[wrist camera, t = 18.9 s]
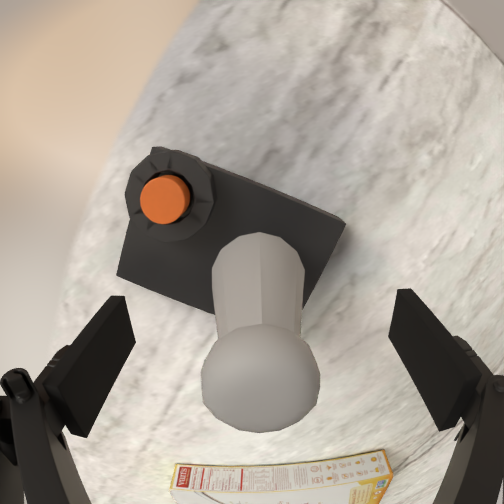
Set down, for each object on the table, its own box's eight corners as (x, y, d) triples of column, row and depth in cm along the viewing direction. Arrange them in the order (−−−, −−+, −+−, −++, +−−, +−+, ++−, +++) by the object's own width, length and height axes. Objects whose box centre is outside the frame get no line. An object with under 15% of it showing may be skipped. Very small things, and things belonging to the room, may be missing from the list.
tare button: (142, 209, 19) (134, 215, 18) (155, 168, 18) (147, 170, 17) (182, 224, 20) (176, 231, 18) (196, 183, 19) (191, 187, 17)
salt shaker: (249, 315, 23) (244, 466, 11) (199, 257, 22) (139, 390, 9) (315, 271, 22) (372, 410, 10) (267, 206, 20) (284, 304, 8)
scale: (121, 264, 24) (103, 282, 21) (157, 140, 21) (141, 140, 17) (284, 326, 26) (287, 351, 22) (341, 213, 22) (355, 225, 19)
